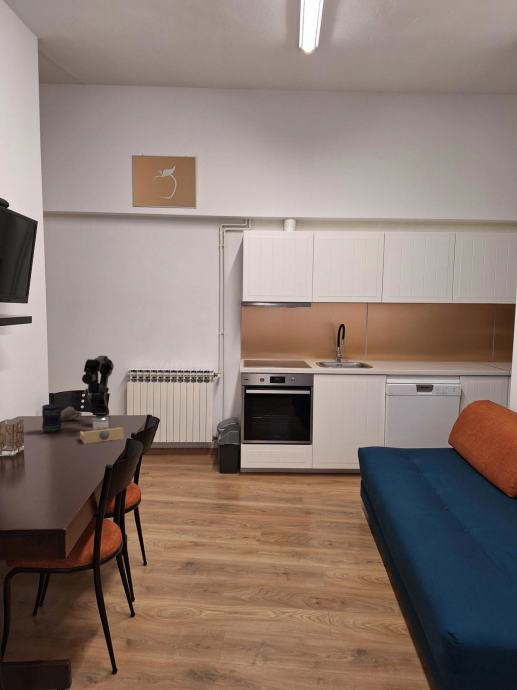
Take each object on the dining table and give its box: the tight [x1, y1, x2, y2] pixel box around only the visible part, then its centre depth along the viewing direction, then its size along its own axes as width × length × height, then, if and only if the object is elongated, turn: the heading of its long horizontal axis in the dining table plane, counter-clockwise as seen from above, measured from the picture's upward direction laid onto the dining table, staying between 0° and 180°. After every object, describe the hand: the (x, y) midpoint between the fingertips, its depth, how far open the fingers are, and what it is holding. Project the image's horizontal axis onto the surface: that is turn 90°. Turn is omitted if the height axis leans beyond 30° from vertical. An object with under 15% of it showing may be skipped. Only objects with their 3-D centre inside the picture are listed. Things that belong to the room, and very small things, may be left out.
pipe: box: [61, 406, 83, 422], centre depth 301 cm, size 16×9×15 cm
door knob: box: [91, 415, 110, 431], centre depth 262 cm, size 14×14×11 cm
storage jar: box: [41, 403, 62, 435], centre depth 272 cm, size 10×10×15 cm
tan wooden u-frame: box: [79, 427, 125, 445], centre depth 260 cm, size 11×20×6 cm, turn 121°
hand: (93, 408), depth 276 cm, fingers closed
